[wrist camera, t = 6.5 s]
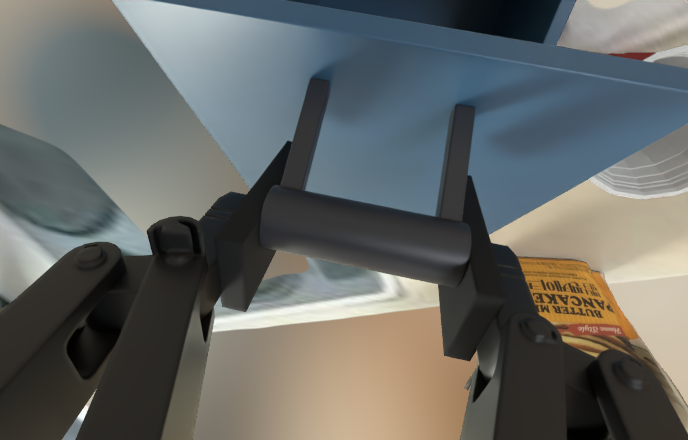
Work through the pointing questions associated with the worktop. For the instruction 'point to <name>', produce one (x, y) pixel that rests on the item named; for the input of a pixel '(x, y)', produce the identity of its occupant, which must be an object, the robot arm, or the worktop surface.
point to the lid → (399, 122)
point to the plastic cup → (652, 152)
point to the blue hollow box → (472, 15)
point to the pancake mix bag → (590, 315)
